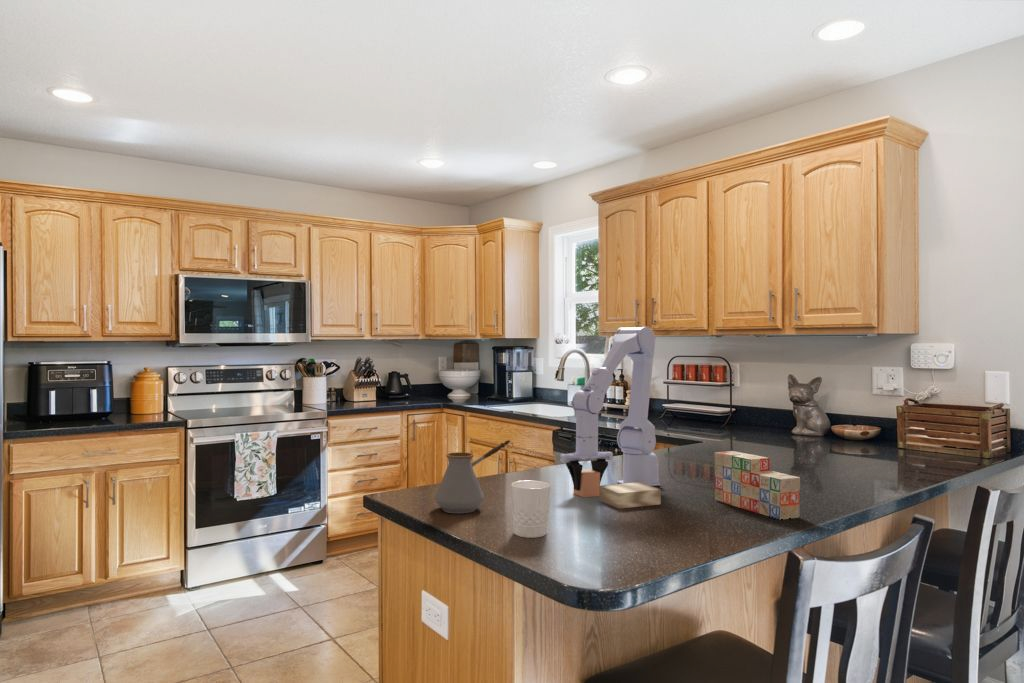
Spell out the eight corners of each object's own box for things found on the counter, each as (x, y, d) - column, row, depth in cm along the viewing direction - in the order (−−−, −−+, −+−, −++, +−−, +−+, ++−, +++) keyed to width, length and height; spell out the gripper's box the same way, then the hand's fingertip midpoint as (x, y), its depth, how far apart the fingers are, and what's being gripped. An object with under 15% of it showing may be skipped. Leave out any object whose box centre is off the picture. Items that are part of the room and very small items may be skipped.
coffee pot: (452, 518, 142) (453, 450, 142) (425, 508, 150) (425, 444, 151) (525, 504, 155) (526, 442, 155) (496, 495, 164) (497, 437, 164)
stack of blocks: (800, 518, 145) (800, 463, 145) (779, 521, 143) (780, 465, 143) (733, 497, 165) (733, 450, 165) (713, 500, 162) (714, 451, 162)
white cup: (520, 540, 126) (520, 489, 126) (504, 530, 133) (505, 482, 133) (556, 536, 129) (556, 486, 129) (539, 526, 136) (539, 479, 136)
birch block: (639, 497, 165) (639, 482, 165) (660, 505, 157) (660, 489, 157) (599, 501, 160) (599, 485, 160) (618, 510, 152) (618, 493, 152)
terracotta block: (590, 491, 170) (590, 469, 170) (599, 495, 165) (600, 472, 165) (573, 493, 168) (573, 470, 168) (582, 497, 163) (582, 473, 163)
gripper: (569, 439, 160) (568, 494, 160) (619, 437, 166) (618, 490, 165) (556, 436, 167) (556, 488, 166) (605, 434, 172) (604, 484, 172)
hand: (586, 488), depth 166 cm, fingers closed on terracotta block, 5 cm apart
